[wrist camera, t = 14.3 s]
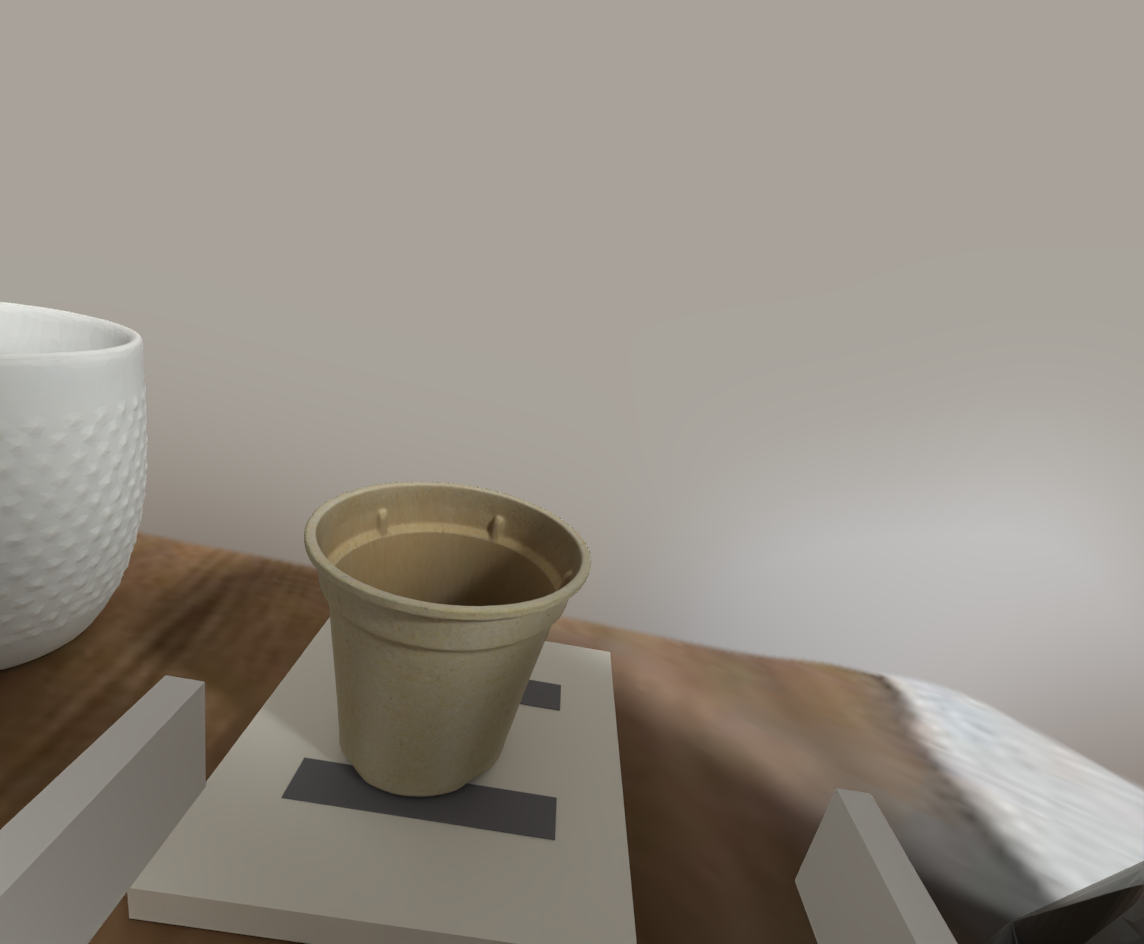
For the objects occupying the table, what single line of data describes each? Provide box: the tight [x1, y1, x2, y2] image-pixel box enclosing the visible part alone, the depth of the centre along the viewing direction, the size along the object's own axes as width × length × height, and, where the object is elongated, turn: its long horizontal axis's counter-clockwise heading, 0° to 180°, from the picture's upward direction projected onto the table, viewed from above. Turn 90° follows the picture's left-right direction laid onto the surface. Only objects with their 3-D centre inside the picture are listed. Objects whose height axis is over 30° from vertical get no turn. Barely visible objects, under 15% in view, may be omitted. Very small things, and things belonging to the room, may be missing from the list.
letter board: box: [127, 617, 637, 944], centre depth 22 cm, size 14×14×1 cm
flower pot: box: [304, 482, 591, 797], centre depth 20 cm, size 9×9×9 cm
